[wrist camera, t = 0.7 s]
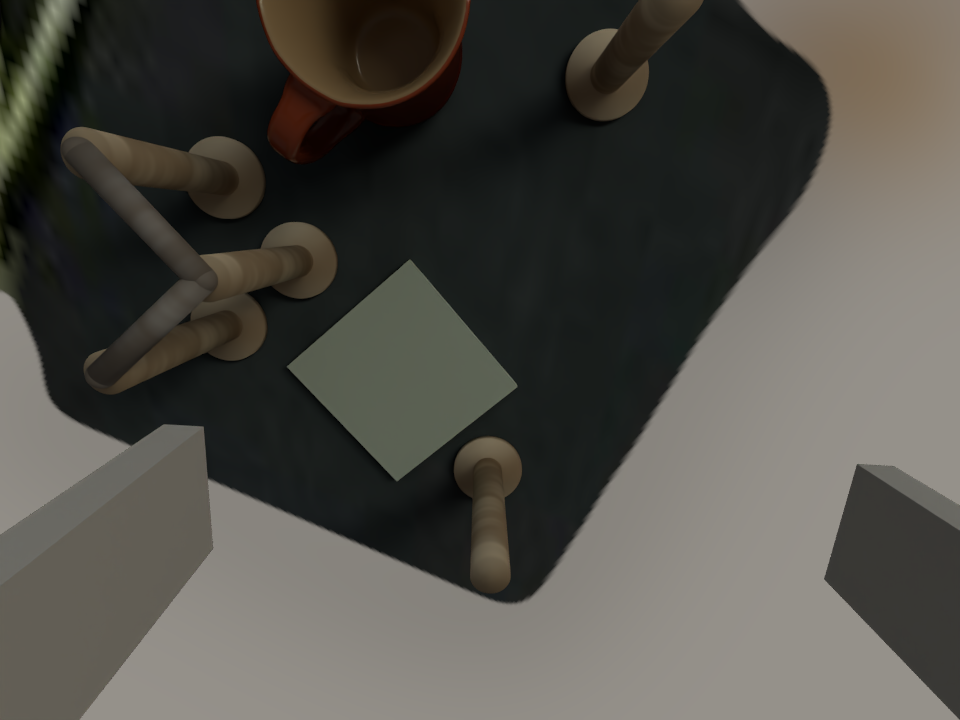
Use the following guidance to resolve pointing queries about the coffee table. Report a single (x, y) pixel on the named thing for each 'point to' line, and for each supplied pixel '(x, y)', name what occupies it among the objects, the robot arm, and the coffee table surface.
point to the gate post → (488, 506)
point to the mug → (359, 66)
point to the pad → (402, 372)
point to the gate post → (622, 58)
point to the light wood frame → (194, 253)
